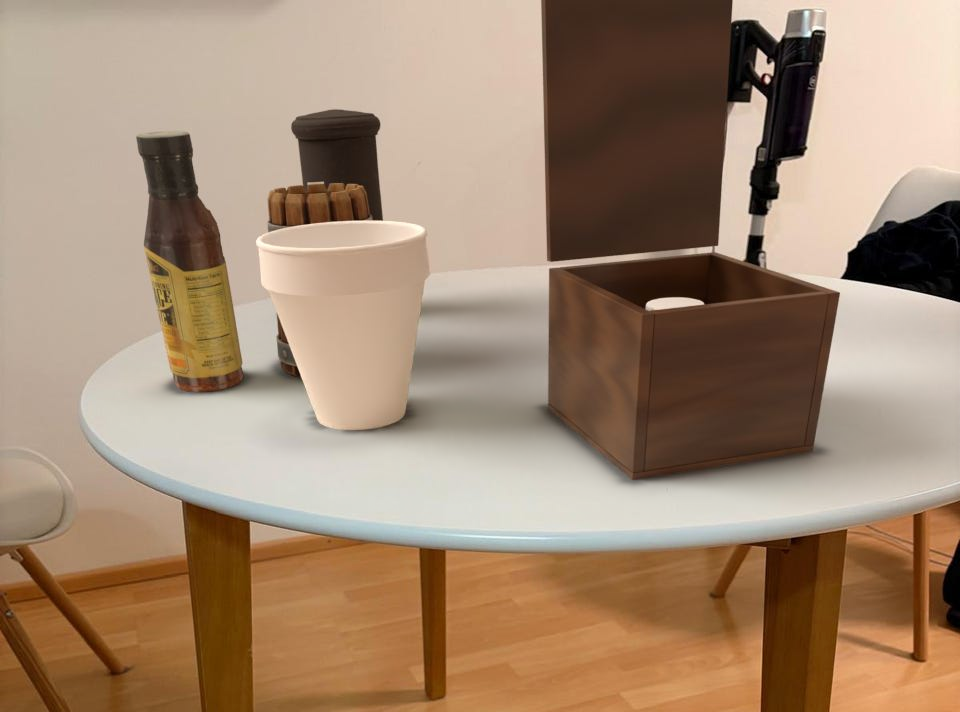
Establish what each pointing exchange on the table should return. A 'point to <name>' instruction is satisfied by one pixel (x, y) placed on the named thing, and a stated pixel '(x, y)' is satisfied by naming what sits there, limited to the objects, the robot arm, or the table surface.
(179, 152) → the sauce bottle
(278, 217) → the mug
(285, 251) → the white flower pot
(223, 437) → the table surface
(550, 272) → the chest
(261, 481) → the table surface
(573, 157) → the lid
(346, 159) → the container
